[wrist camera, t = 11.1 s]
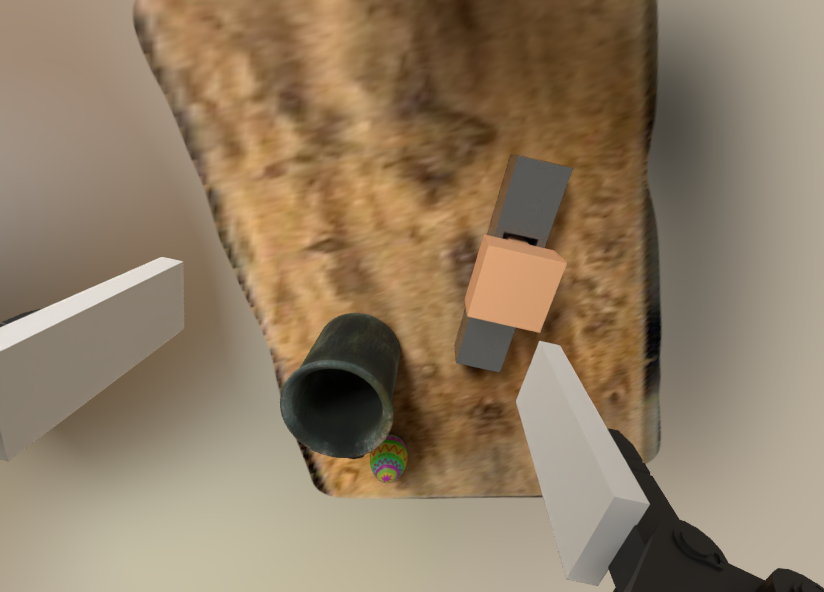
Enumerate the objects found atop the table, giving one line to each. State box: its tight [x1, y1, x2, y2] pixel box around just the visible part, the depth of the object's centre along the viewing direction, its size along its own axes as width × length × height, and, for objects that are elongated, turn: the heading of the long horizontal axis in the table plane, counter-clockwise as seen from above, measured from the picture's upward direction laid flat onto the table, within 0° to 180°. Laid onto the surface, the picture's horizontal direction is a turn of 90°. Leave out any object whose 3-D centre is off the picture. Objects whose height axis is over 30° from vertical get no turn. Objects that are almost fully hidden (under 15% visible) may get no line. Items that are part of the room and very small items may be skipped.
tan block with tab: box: [465, 233, 567, 333], centre depth 38 cm, size 7×7×7 cm
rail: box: [455, 154, 573, 372], centre depth 41 cm, size 22×5×4 cm, turn 168°
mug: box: [280, 313, 400, 459], centre depth 43 cm, size 11×15×12 cm
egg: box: [370, 435, 408, 483], centre depth 51 cm, size 5×5×6 cm
